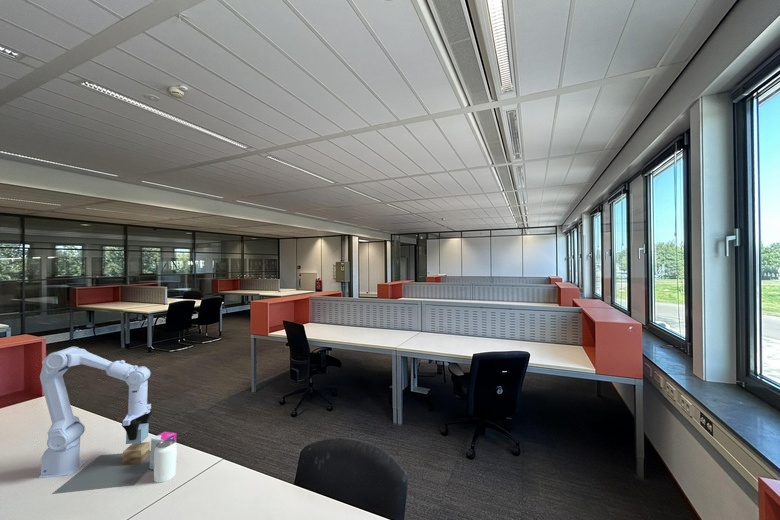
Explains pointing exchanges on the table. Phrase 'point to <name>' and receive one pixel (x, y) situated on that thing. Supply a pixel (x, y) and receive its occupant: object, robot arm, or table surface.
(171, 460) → the can
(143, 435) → the cube
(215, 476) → the table surface
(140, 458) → the slab lower
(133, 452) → the slab upper
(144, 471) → the mat
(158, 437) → the supplement box
